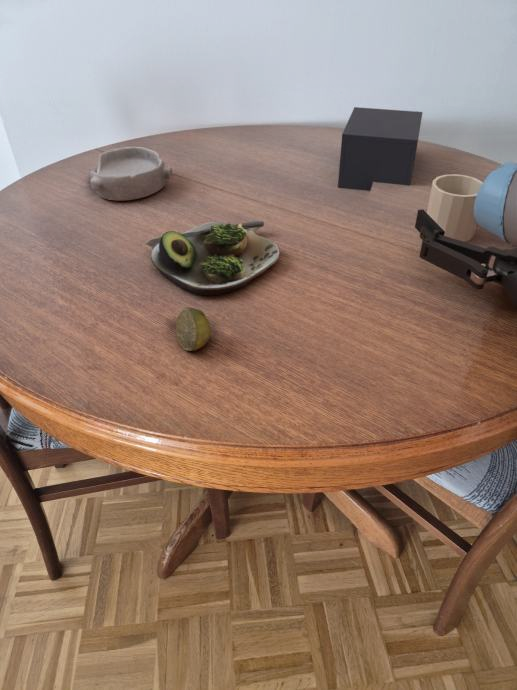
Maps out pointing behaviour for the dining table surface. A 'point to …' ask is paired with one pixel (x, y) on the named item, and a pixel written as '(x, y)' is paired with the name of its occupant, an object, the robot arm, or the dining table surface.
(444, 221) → the cup
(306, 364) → the dining table surface
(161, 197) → the dining table surface
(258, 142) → the dining table surface
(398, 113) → the cabinet
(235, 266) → the salad plate
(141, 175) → the dish
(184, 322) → the lime
